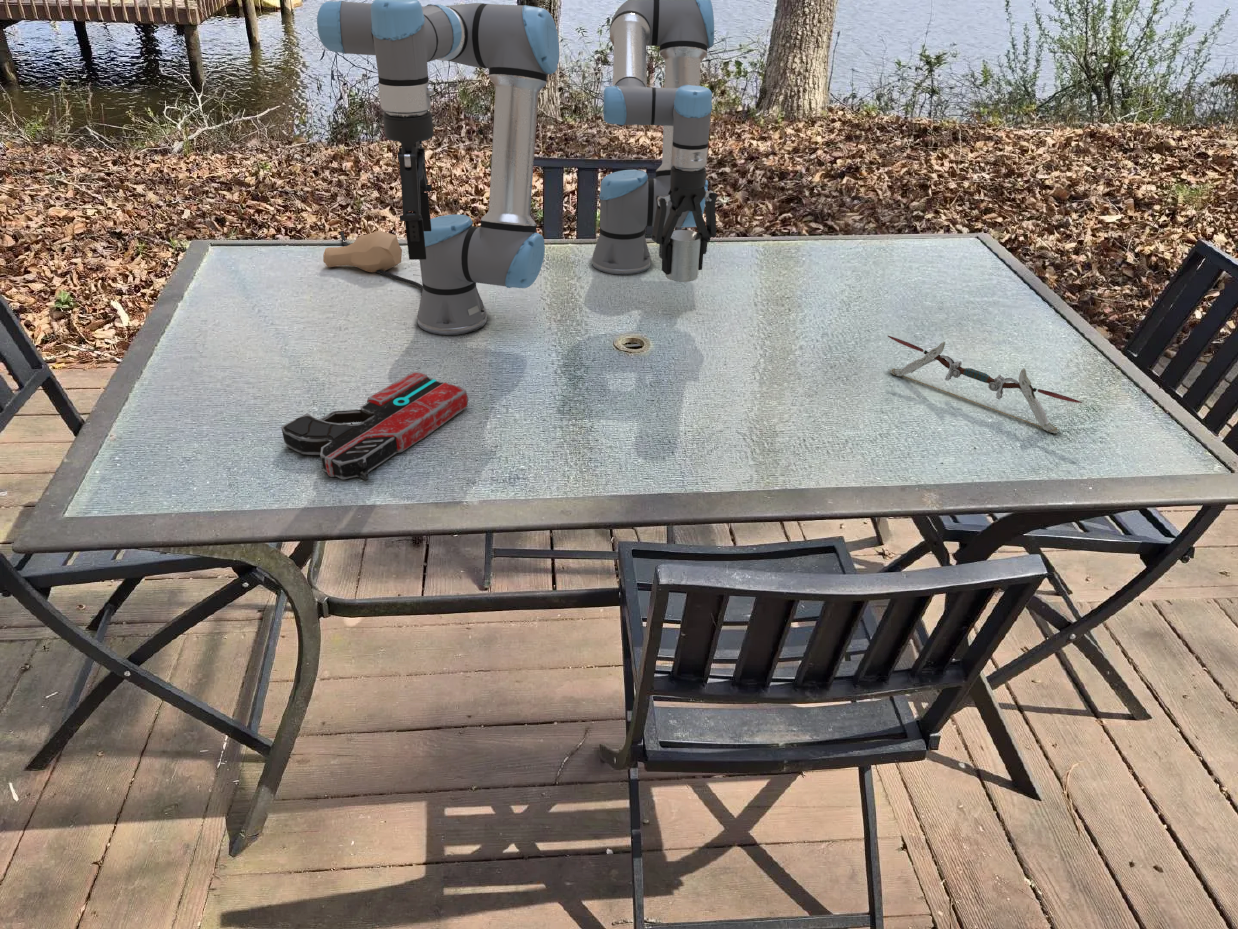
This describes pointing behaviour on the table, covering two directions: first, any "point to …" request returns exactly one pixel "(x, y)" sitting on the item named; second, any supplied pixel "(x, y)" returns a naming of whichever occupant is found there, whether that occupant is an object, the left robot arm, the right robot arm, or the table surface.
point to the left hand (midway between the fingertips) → (420, 244)
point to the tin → (684, 255)
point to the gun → (376, 425)
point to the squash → (367, 252)
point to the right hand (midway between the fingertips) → (681, 269)
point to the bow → (994, 384)
